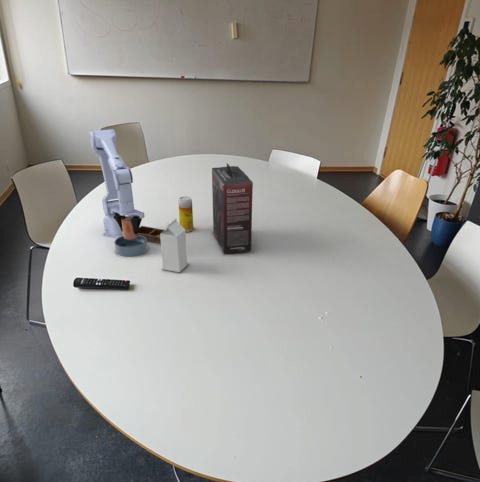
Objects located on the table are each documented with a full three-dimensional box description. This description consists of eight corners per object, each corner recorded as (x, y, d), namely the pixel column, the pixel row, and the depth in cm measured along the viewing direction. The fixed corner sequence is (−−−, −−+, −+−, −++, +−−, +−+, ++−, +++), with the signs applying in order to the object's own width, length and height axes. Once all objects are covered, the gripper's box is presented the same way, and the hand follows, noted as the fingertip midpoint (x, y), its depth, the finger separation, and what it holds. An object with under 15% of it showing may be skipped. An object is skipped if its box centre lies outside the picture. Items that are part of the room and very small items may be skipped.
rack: (132, 239, 191) (131, 232, 189) (142, 232, 197) (141, 225, 196) (164, 245, 186) (163, 238, 184) (173, 238, 193) (172, 231, 191)
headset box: (212, 231, 199) (210, 158, 182) (238, 229, 202) (239, 156, 184) (223, 254, 179) (222, 174, 161) (252, 252, 182) (254, 173, 164)
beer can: (191, 232, 198) (189, 201, 190) (178, 231, 199) (176, 200, 191) (195, 227, 203) (193, 196, 195) (182, 226, 204) (180, 195, 196)
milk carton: (187, 264, 172) (184, 219, 161) (179, 272, 166) (176, 226, 156) (171, 262, 173) (167, 217, 163) (163, 269, 168) (158, 223, 157)
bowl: (109, 254, 179) (108, 244, 176) (127, 242, 189) (126, 232, 186) (136, 259, 175) (135, 249, 172) (153, 247, 185) (152, 237, 182)
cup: (120, 238, 177) (118, 219, 173) (128, 233, 182) (126, 214, 177) (132, 240, 175) (130, 222, 171) (140, 235, 180) (138, 217, 176)
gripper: (104, 200, 169) (109, 232, 176) (135, 205, 165) (139, 238, 172) (114, 195, 175) (119, 226, 182) (145, 200, 170) (149, 232, 178)
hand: (130, 232), depth 177 cm, fingers closed on cup, 6 cm apart
